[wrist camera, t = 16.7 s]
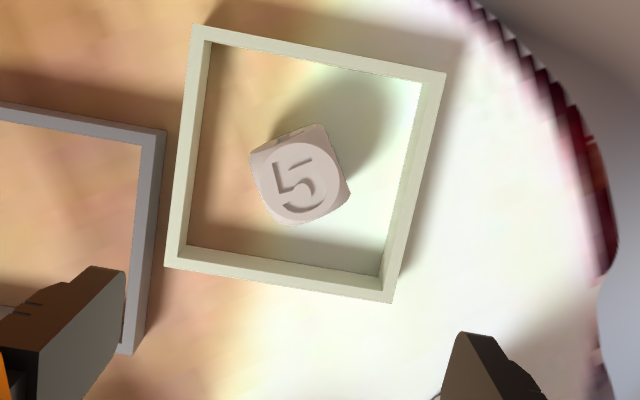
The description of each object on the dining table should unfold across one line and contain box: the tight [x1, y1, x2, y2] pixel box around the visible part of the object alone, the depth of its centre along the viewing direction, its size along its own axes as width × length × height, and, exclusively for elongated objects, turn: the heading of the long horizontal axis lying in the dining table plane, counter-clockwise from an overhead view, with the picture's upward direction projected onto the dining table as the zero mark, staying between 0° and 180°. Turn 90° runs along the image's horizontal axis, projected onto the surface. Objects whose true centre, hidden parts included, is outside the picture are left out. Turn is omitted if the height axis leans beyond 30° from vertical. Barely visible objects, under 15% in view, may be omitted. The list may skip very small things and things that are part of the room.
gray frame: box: [0, 101, 167, 356], centre depth 33 cm, size 16×16×2 cm
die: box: [249, 123, 351, 226], centre depth 32 cm, size 5×5×5 cm
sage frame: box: [164, 23, 447, 304], centre depth 33 cm, size 16×16×2 cm
